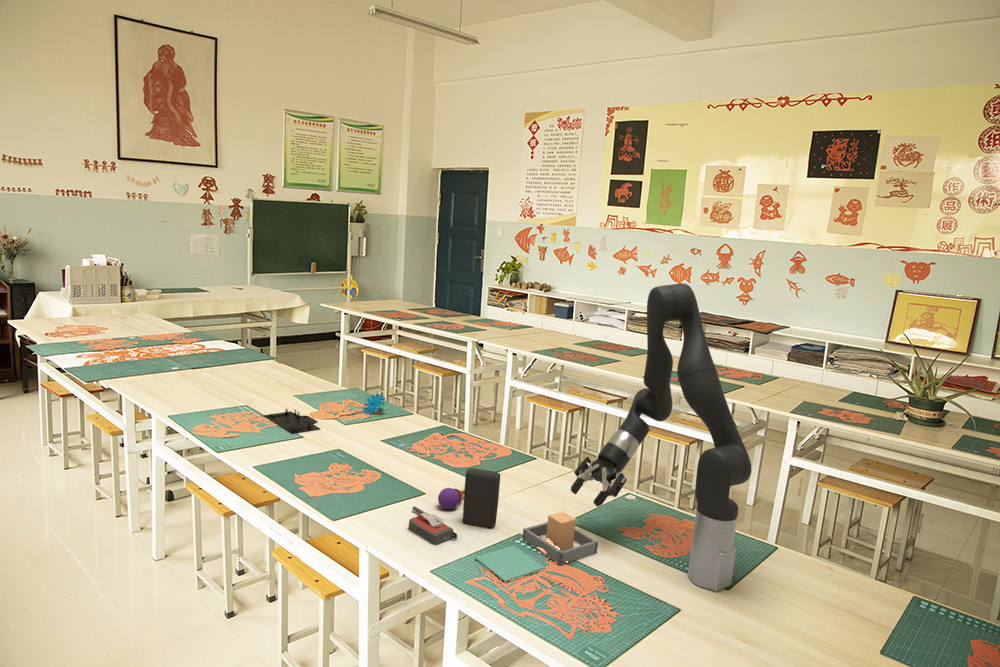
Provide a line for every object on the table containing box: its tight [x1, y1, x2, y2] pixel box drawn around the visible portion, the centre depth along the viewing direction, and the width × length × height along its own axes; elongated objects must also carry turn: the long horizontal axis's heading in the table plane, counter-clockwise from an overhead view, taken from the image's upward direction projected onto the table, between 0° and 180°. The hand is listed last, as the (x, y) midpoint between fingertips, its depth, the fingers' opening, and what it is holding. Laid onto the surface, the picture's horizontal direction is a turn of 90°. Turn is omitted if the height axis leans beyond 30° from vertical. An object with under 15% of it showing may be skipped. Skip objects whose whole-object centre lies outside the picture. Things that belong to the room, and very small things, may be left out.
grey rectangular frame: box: [522, 521, 599, 566], centre depth 166 cm, size 15×13×3 cm
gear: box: [362, 393, 387, 415], centre depth 267 cm, size 11×6×10 cm
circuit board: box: [263, 408, 321, 435], centre depth 247 cm, size 25×14×3 cm, turn 43°
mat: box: [474, 545, 546, 583], centre depth 155 cm, size 12×12×1 cm
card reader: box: [462, 467, 501, 529], centre depth 174 cm, size 9×4×15 cm, turn 77°
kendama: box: [437, 487, 465, 510], centre depth 189 cm, size 6×6×20 cm
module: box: [545, 511, 577, 551], centre depth 165 cm, size 5×5×8 cm
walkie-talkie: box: [408, 506, 458, 546], centre depth 170 cm, size 9×4×20 cm
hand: (584, 498), depth 169 cm, fingers open, 8 cm apart
